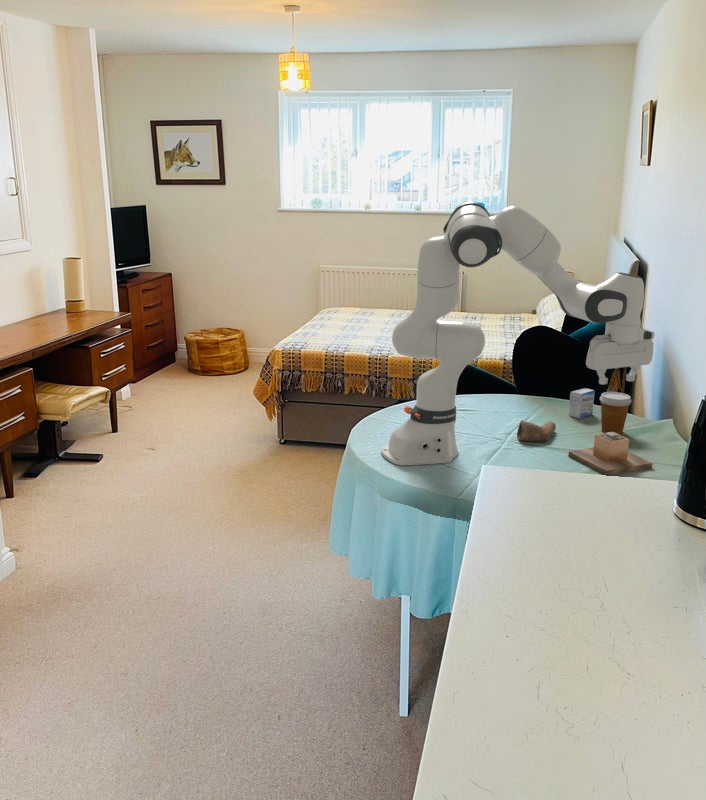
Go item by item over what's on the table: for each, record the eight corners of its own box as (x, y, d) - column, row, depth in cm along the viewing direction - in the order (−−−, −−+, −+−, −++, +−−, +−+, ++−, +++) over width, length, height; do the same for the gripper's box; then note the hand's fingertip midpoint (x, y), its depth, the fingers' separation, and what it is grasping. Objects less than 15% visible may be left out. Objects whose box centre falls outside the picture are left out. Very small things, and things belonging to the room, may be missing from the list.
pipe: (561, 417, 234) (530, 408, 238) (548, 432, 220) (516, 422, 224) (556, 436, 236) (525, 426, 240) (543, 451, 222) (511, 441, 226)
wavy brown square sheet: (605, 475, 200) (609, 446, 197) (568, 456, 214) (571, 428, 212) (652, 467, 206) (655, 439, 203) (612, 449, 220) (615, 422, 217)
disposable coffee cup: (590, 430, 236) (593, 394, 233) (607, 425, 242) (611, 389, 238) (616, 438, 229) (620, 401, 226) (633, 432, 235) (638, 396, 231)
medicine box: (579, 419, 248) (581, 394, 246) (567, 415, 251) (570, 391, 249) (592, 414, 253) (595, 390, 250) (581, 411, 256) (583, 387, 254)
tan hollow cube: (608, 462, 205) (610, 442, 204) (592, 454, 211) (594, 434, 209) (626, 459, 208) (629, 439, 206) (611, 451, 213) (613, 432, 212)
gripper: (599, 338, 193) (594, 389, 197) (659, 332, 201) (653, 381, 205) (583, 333, 199) (578, 383, 203) (642, 328, 206) (636, 376, 210)
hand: (616, 382), depth 204 cm, fingers open, 8 cm apart
